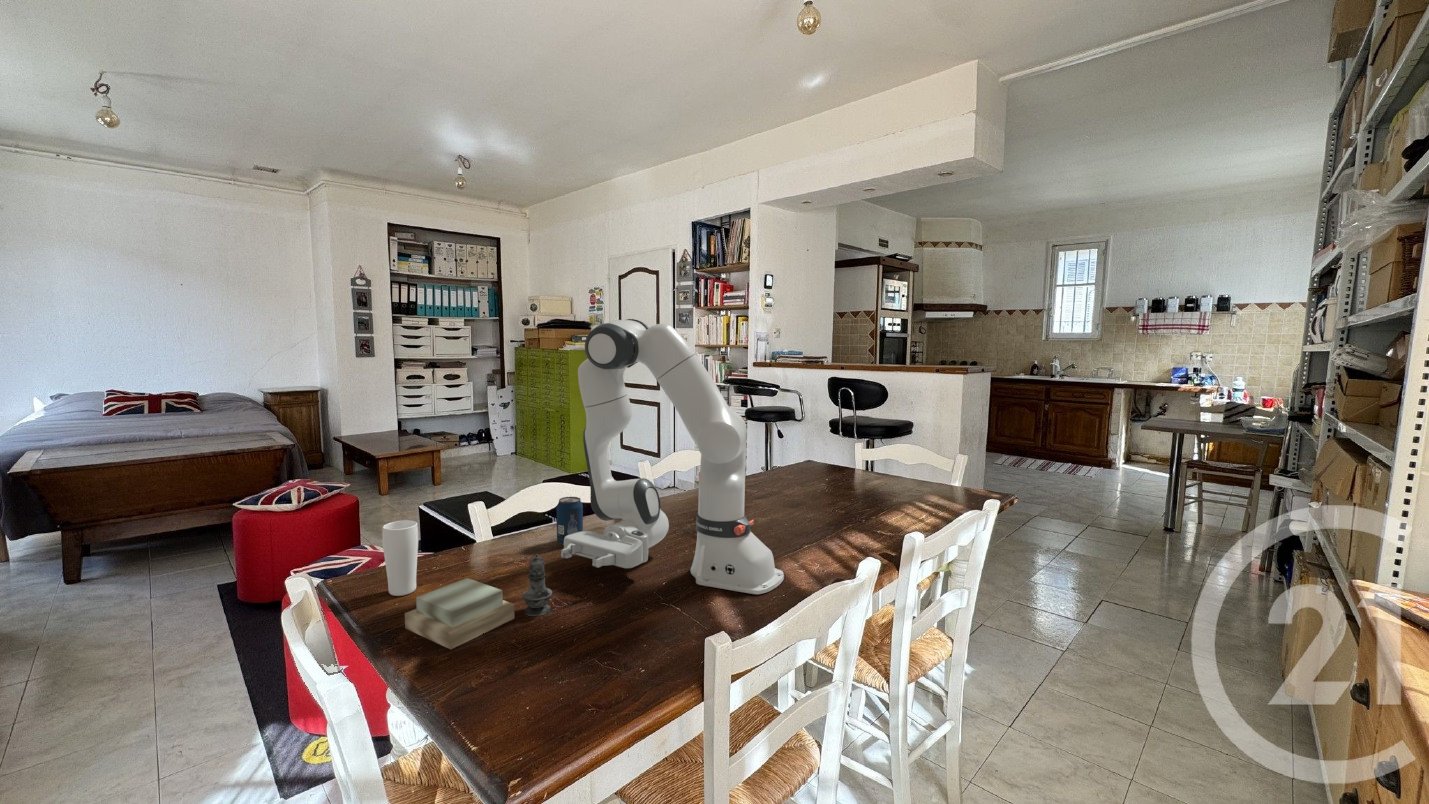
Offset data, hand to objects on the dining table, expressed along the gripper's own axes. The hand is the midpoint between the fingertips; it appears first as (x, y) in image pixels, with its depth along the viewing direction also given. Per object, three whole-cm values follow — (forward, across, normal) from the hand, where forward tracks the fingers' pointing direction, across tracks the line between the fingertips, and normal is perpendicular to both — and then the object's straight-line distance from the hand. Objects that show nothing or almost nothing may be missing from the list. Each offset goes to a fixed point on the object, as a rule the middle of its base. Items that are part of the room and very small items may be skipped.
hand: (578, 559), depth 129 cm
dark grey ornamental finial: (+12, 0, +7) cm, 14 cm away
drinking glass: (+22, -31, +7) cm, 39 cm away
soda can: (-21, -24, +7) cm, 33 cm away
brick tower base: (+24, -8, +7) cm, 26 cm away
